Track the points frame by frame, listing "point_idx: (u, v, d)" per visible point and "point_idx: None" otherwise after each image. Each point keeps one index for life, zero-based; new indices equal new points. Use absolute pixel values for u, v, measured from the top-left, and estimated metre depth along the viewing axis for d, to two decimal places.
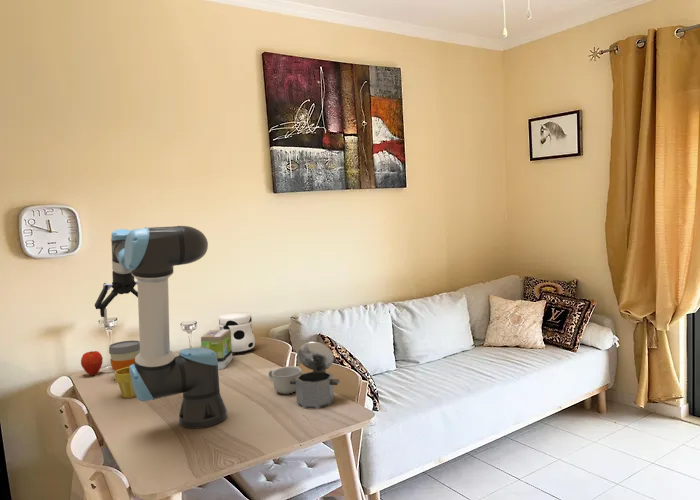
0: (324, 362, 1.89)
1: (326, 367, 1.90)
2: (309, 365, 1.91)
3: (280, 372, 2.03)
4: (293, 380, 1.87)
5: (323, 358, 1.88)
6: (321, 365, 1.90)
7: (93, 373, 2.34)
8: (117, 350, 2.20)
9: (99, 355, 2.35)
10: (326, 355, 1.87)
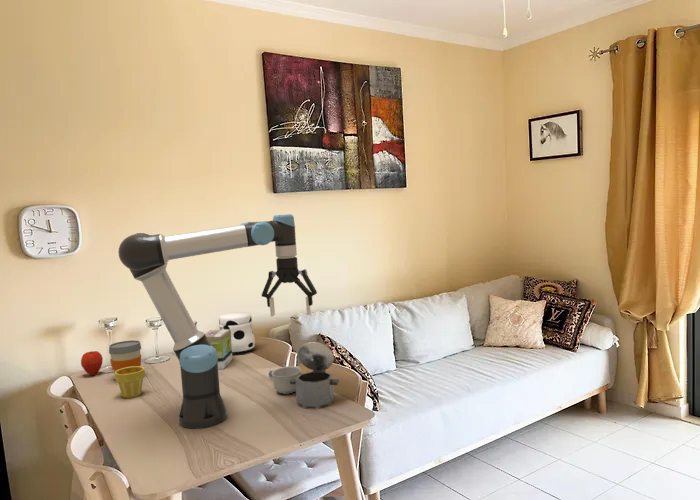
0: (324, 362, 1.89)
1: (326, 367, 1.90)
2: (309, 365, 1.91)
3: (280, 372, 2.03)
4: (293, 380, 1.87)
5: (323, 358, 1.88)
6: (321, 365, 1.90)
7: (93, 373, 2.34)
8: (117, 350, 2.20)
9: (99, 355, 2.35)
10: (326, 355, 1.87)
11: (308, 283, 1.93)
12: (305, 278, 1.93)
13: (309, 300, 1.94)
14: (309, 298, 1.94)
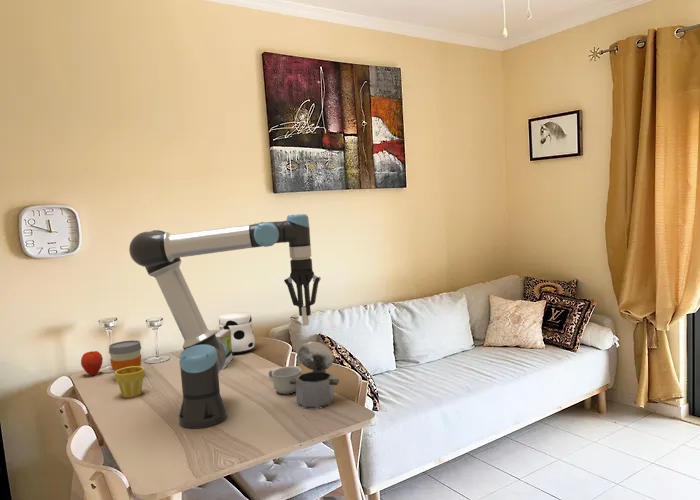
0: (324, 362, 1.89)
1: (326, 367, 1.90)
2: (309, 365, 1.91)
3: (280, 372, 2.03)
4: (293, 380, 1.87)
5: (323, 358, 1.88)
6: (321, 365, 1.90)
7: (93, 373, 2.34)
8: (117, 350, 2.20)
9: (99, 355, 2.35)
10: (326, 355, 1.87)
11: (313, 292, 1.87)
12: (314, 286, 1.87)
13: (307, 310, 1.89)
14: (307, 308, 1.89)
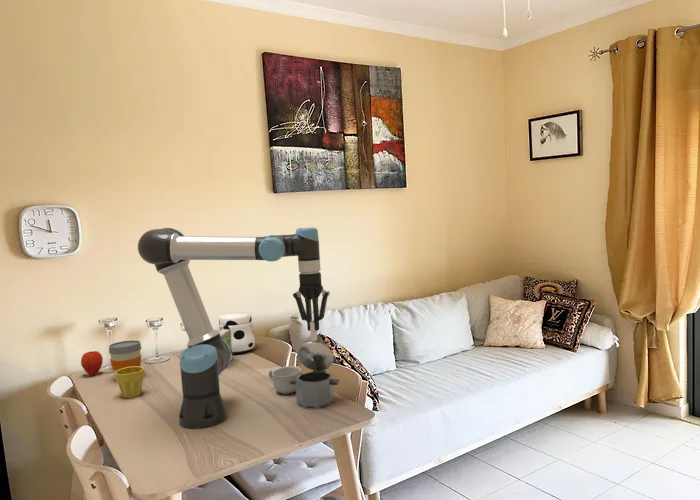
0: (324, 362, 1.89)
1: (326, 367, 1.90)
2: (309, 365, 1.91)
3: (280, 372, 2.03)
4: (293, 380, 1.87)
5: (323, 358, 1.88)
6: (321, 365, 1.90)
7: (93, 373, 2.34)
8: (117, 350, 2.20)
9: (99, 355, 2.35)
10: (326, 355, 1.87)
11: (322, 306, 1.84)
12: (323, 300, 1.84)
13: (315, 325, 1.86)
14: (315, 323, 1.86)
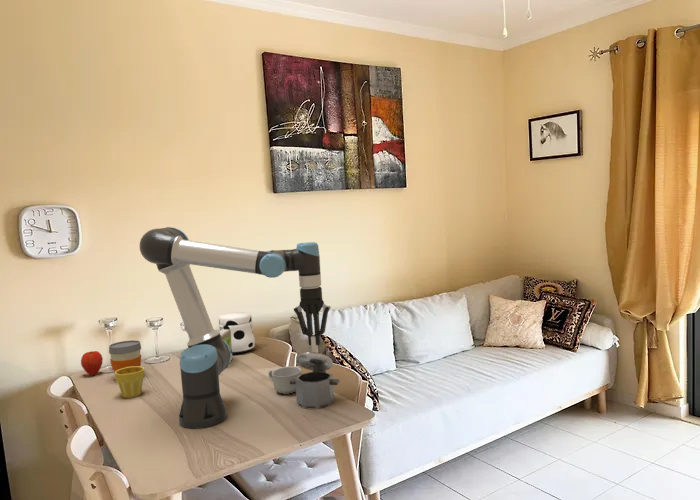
0: (323, 366, 1.88)
1: (326, 369, 1.89)
2: (309, 367, 1.90)
3: (280, 372, 2.03)
4: (293, 380, 1.87)
5: (322, 363, 1.86)
6: (321, 367, 1.89)
7: (93, 373, 2.34)
8: (117, 350, 2.20)
9: (99, 355, 2.35)
10: (325, 361, 1.85)
11: (323, 321, 1.85)
12: (324, 315, 1.84)
13: (316, 339, 1.86)
14: (316, 337, 1.86)
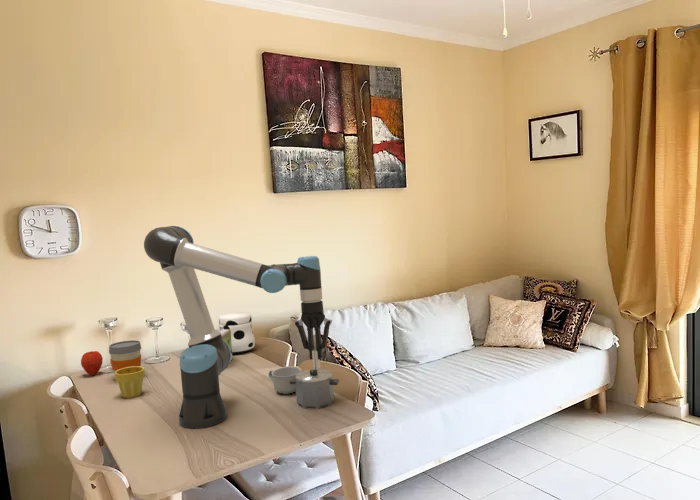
0: None
1: None
2: None
3: (280, 372, 2.03)
4: (293, 380, 1.87)
5: None
6: None
7: (93, 373, 2.34)
8: (117, 350, 2.20)
9: (99, 355, 2.35)
10: None
11: (325, 335, 1.84)
12: (325, 329, 1.84)
13: (318, 353, 1.86)
14: (318, 351, 1.86)
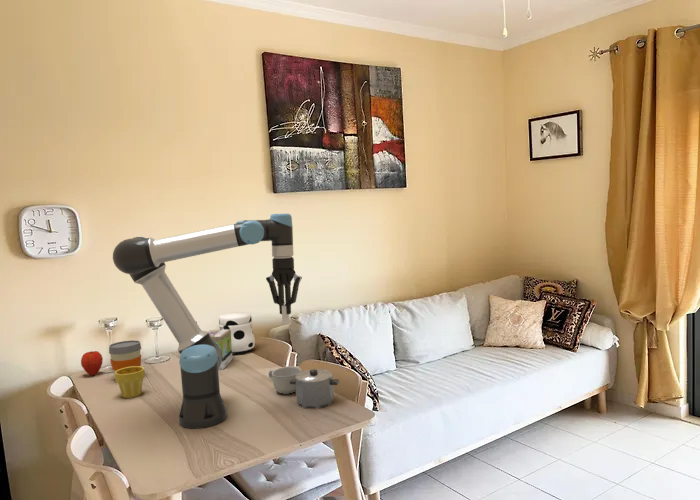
0: None
1: None
2: None
3: (280, 372, 2.03)
4: (293, 380, 1.87)
5: None
6: None
7: (93, 373, 2.34)
8: (117, 350, 2.20)
9: (99, 355, 2.35)
10: None
11: (294, 291, 1.89)
12: (295, 285, 1.89)
13: (287, 309, 1.91)
14: (287, 306, 1.90)
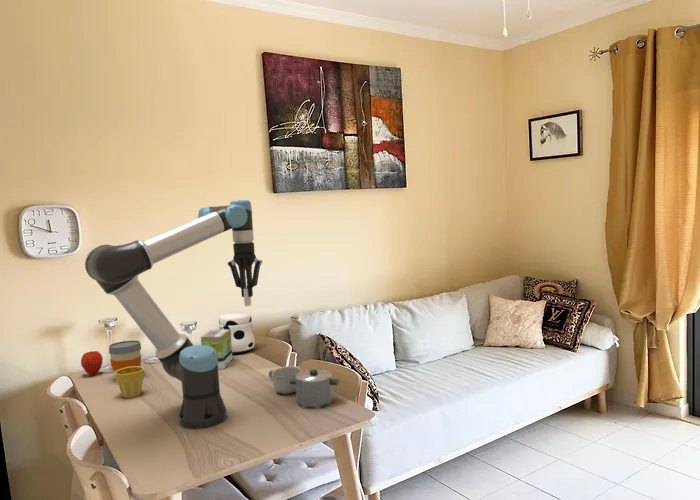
0: None
1: None
2: None
3: (280, 372, 2.03)
4: (293, 380, 1.87)
5: None
6: None
7: (93, 373, 2.34)
8: (117, 350, 2.20)
9: (99, 355, 2.35)
10: None
11: (255, 274, 1.97)
12: (255, 268, 1.97)
13: (249, 291, 1.98)
14: (249, 289, 1.98)
